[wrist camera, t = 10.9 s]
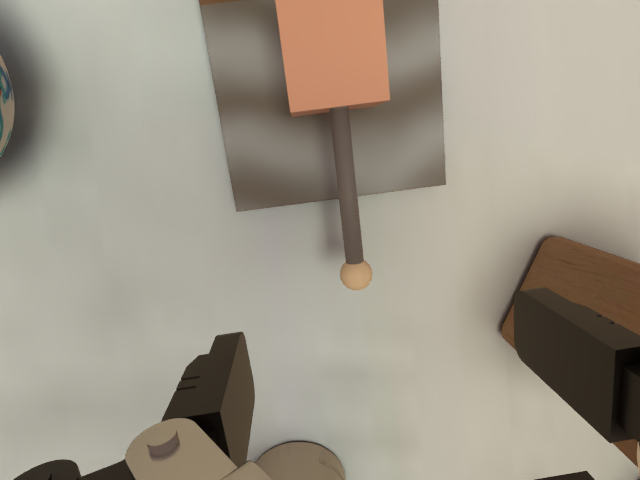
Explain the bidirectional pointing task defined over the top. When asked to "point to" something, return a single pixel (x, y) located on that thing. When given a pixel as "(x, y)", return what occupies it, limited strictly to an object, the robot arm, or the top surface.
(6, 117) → the chinaware
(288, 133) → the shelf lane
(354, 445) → the top surface
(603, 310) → the block
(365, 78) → the cord block
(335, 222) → the top surface
